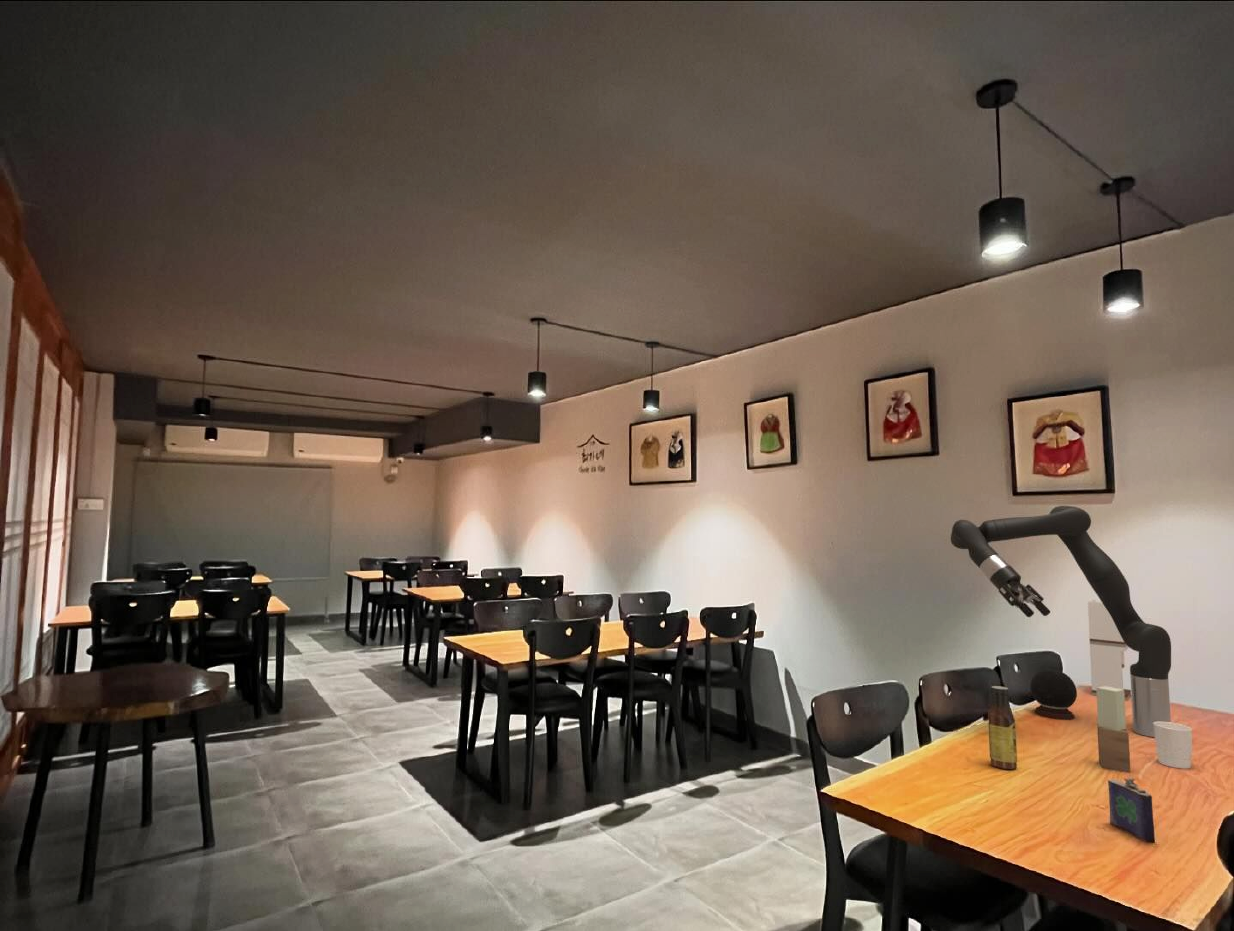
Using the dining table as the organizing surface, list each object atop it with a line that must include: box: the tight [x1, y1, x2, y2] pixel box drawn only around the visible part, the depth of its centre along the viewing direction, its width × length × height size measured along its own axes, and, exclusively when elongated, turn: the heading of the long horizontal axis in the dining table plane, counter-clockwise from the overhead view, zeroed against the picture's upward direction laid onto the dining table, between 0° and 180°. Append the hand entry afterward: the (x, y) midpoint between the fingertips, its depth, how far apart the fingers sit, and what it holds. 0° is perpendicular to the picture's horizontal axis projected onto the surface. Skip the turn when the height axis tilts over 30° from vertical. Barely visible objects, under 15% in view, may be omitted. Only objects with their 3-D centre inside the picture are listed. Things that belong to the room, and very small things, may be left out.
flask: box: [1107, 777, 1156, 844], centre depth 136 cm, size 9×3×11 cm, turn 8°
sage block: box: [1096, 686, 1127, 731], centre depth 175 cm, size 4×4×10 cm
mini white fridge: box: [1087, 599, 1131, 702], centre depth 254 cm, size 11×11×35 cm
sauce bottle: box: [987, 685, 1018, 770], centre depth 174 cm, size 7×6×20 cm
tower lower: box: [1097, 742, 1132, 774], centre depth 174 cm, size 6×6×5 cm
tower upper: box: [1096, 722, 1130, 753], centre depth 174 cm, size 6×6×5 cm
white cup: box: [1153, 722, 1193, 770], centre depth 177 cm, size 8×8×10 cm
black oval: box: [1029, 668, 1078, 721], centre depth 223 cm, size 13×13×15 cm
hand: (1039, 614), depth 195 cm, fingers open, 8 cm apart
